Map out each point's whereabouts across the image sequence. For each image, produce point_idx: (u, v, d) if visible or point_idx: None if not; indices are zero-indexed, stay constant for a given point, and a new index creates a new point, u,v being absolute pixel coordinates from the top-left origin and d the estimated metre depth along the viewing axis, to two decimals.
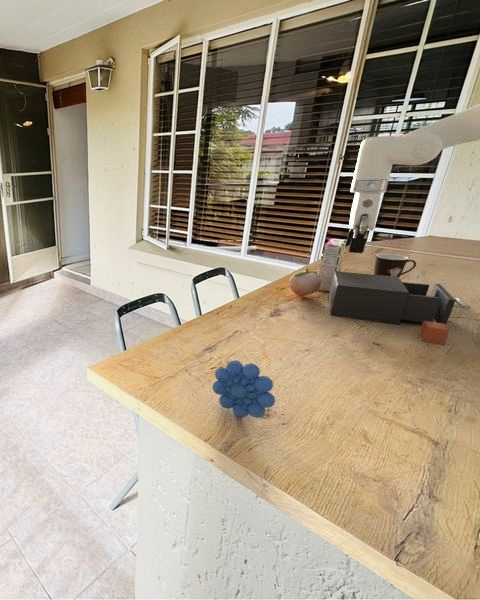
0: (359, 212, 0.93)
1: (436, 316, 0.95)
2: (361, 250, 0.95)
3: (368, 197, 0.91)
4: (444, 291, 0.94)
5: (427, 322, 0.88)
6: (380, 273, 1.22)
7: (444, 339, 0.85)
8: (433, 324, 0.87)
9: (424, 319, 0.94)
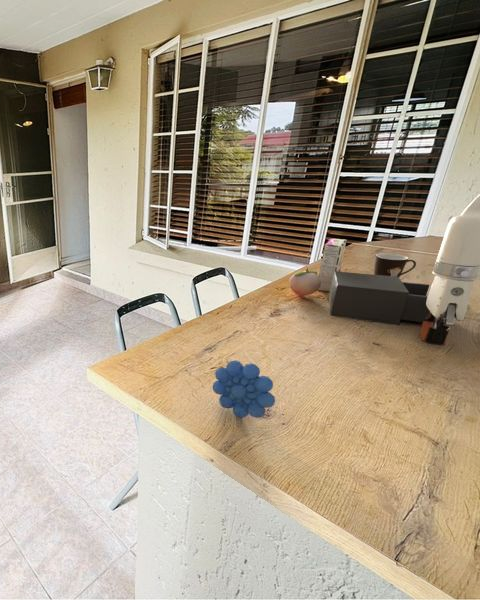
0: (446, 300, 0.80)
1: None
2: (441, 341, 0.85)
3: (458, 285, 0.79)
4: None
5: (427, 322, 0.88)
6: (380, 273, 1.22)
7: None
8: None
9: (424, 319, 0.94)
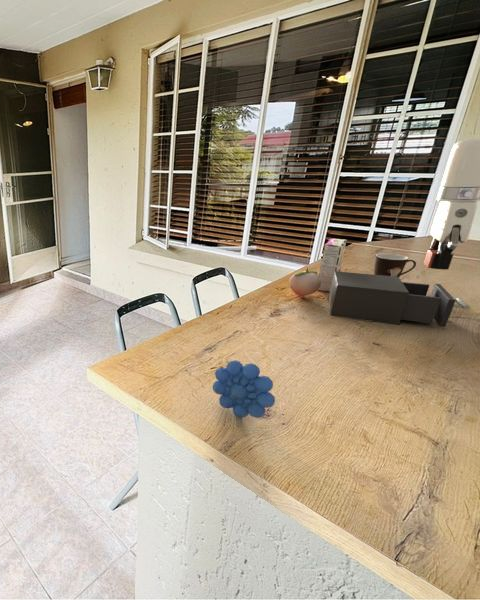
0: (450, 223, 0.84)
1: (436, 316, 0.95)
2: (446, 266, 0.89)
3: (462, 206, 0.82)
4: (444, 291, 0.94)
5: (431, 250, 0.92)
6: (380, 273, 1.22)
7: None
8: None
9: (424, 319, 0.94)
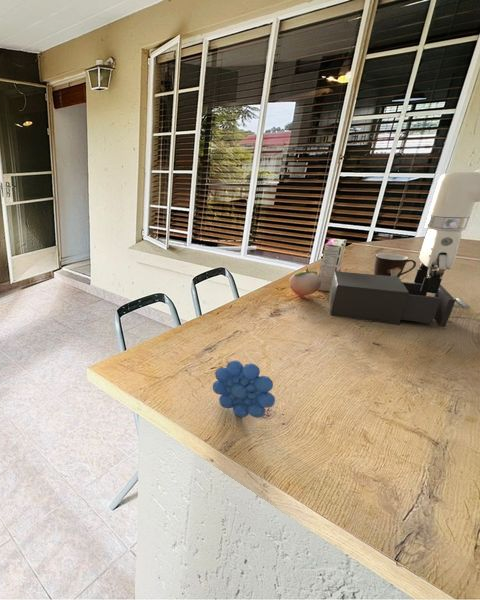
0: (436, 250, 0.89)
1: (436, 316, 0.95)
2: (435, 290, 0.92)
3: (448, 235, 0.87)
4: (444, 291, 0.94)
5: None
6: (380, 273, 1.22)
7: None
8: None
9: (424, 319, 0.94)
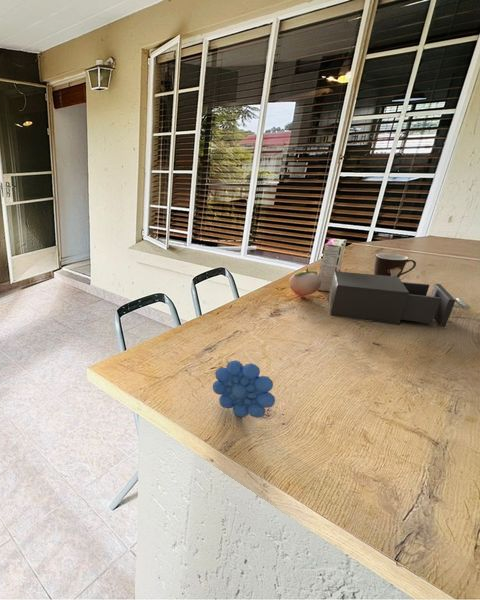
0: None
1: (436, 316, 0.95)
2: None
3: None
4: (444, 291, 0.94)
5: None
6: (380, 273, 1.22)
7: None
8: None
9: (424, 319, 0.94)
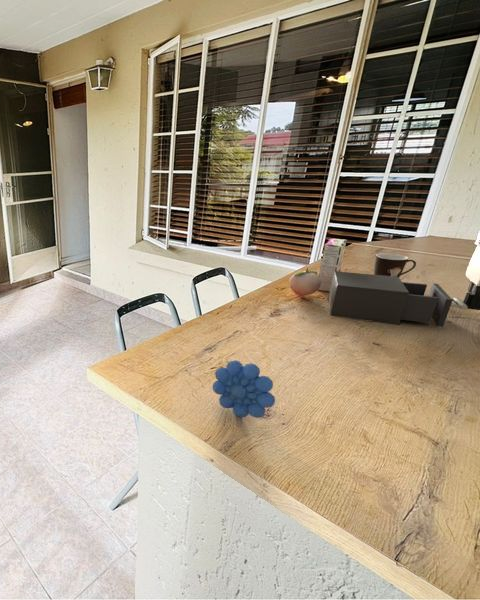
0: None
1: (434, 316, 0.95)
2: (479, 307, 0.91)
3: None
4: (442, 291, 0.94)
5: None
6: (380, 273, 1.22)
7: None
8: None
9: (422, 319, 0.94)
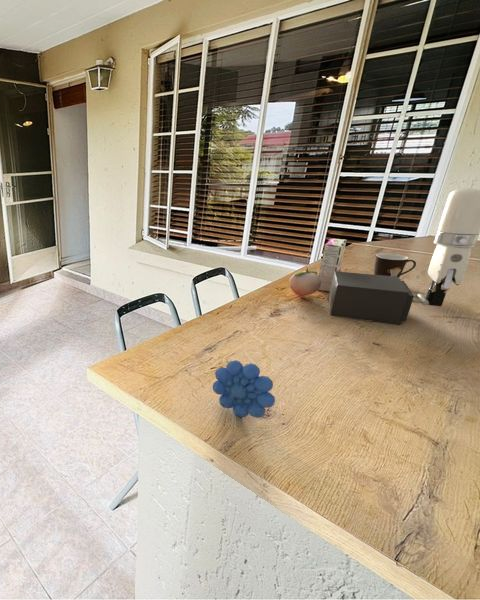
0: (446, 266, 0.89)
1: None
2: (439, 303, 0.95)
3: (457, 252, 0.87)
4: None
5: None
6: (380, 273, 1.22)
7: None
8: None
9: None
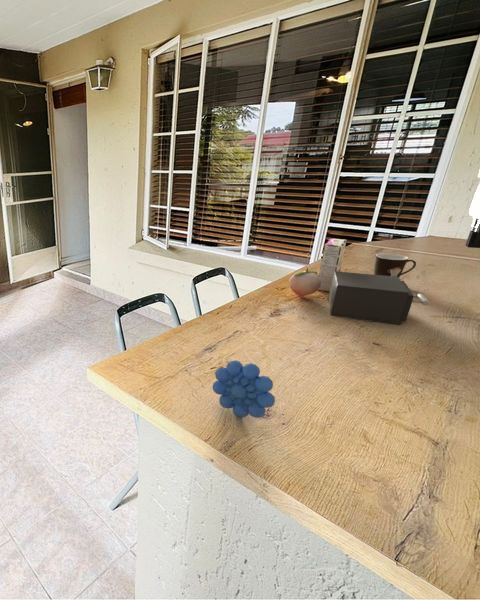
0: None
1: None
2: None
3: None
4: None
5: None
6: (380, 273, 1.22)
7: None
8: None
9: None
